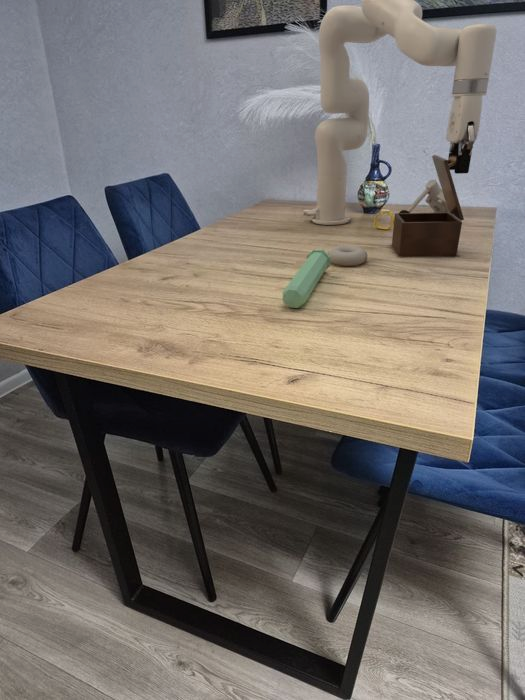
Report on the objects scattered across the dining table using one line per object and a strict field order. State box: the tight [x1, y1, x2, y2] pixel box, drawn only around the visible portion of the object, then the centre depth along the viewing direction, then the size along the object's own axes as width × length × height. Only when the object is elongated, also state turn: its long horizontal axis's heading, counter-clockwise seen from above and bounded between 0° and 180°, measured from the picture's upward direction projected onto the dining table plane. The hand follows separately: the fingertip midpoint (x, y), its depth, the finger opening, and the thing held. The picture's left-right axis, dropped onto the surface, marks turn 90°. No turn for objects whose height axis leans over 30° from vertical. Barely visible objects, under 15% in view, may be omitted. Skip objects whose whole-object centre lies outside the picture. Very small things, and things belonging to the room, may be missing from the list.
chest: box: [391, 212, 463, 258], centre depth 125 cm, size 15×12×9 cm
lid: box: [431, 154, 465, 222], centre depth 119 cm, size 15×12×5 cm
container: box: [282, 248, 331, 309], centre depth 103 cm, size 6×6×25 cm
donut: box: [327, 244, 368, 267], centre depth 120 cm, size 10×4×10 cm
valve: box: [398, 179, 453, 215], centre depth 158 cm, size 10×20×15 cm
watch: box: [373, 208, 395, 231], centre depth 148 cm, size 6×3×6 cm, turn 62°
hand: (457, 170), depth 117 cm, fingers closed on lid, 6 cm apart
